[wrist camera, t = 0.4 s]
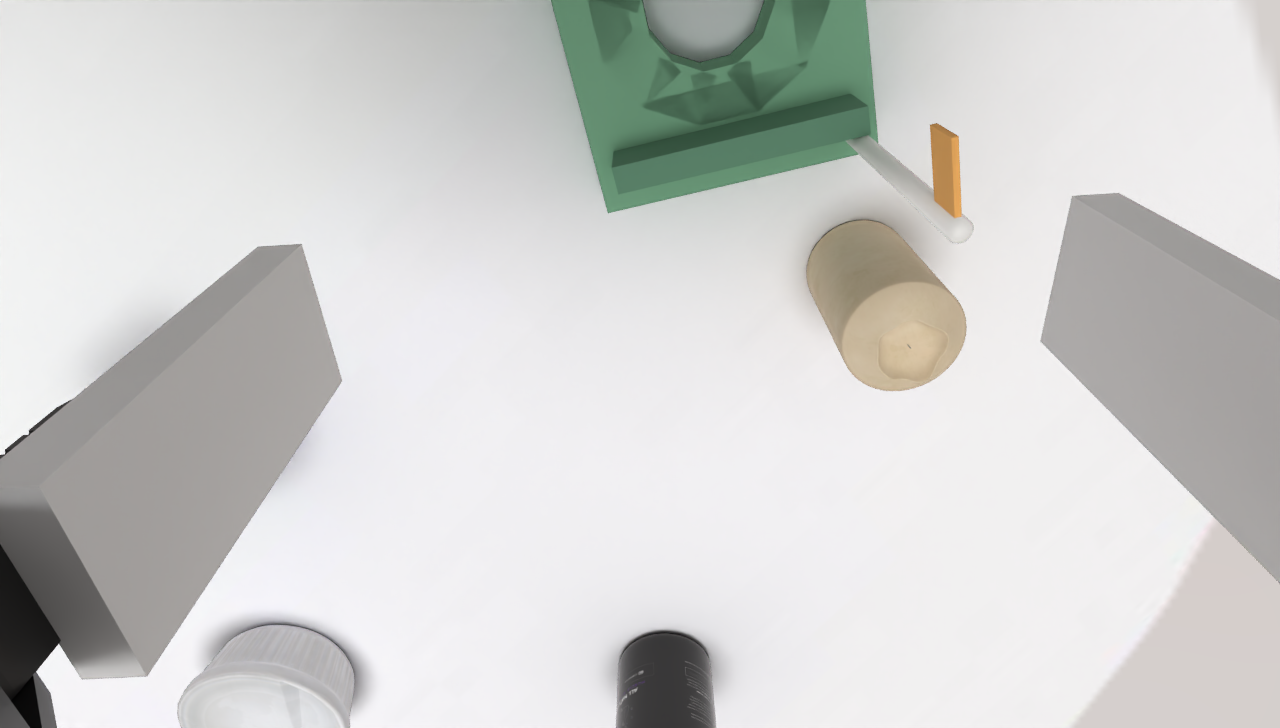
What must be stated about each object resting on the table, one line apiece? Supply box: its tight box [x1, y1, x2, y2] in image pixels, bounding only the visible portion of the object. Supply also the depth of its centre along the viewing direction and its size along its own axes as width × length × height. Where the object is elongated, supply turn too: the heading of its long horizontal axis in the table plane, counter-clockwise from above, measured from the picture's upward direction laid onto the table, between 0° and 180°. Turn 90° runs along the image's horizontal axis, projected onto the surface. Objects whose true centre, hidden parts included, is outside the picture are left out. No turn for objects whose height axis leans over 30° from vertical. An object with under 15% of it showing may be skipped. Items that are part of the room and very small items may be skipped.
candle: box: [807, 220, 966, 391], centre depth 37 cm, size 6×6×10 cm
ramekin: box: [177, 625, 355, 728], centre depth 55 cm, size 11×11×5 cm
